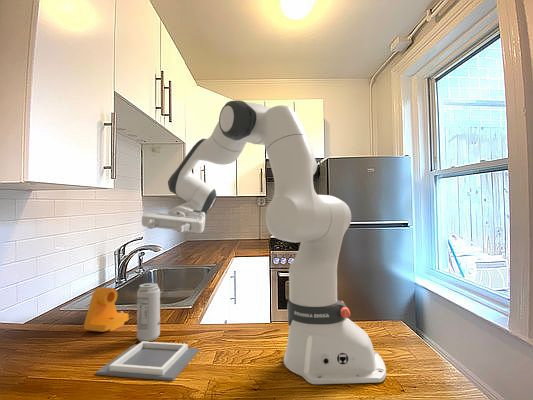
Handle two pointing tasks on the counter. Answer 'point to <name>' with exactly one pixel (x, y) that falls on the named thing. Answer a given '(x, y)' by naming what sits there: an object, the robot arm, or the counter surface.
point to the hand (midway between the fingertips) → (164, 227)
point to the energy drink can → (148, 312)
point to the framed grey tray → (150, 361)
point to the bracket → (104, 311)
